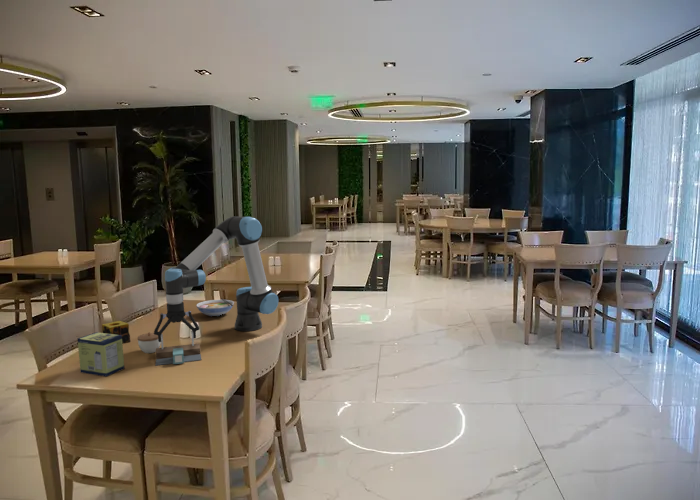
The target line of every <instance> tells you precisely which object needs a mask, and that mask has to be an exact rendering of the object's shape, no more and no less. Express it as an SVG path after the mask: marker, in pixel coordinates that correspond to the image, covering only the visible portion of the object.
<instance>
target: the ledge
mask: <svg viewBox="0 0 700 500" xmlns="http://www.w3.org/2000/svg"><path fill="white" fill-rule="evenodd" d="M176 348H183V354H184V356H189V355H197V354H201V345H200V343H194V346H192V343H191V344H183V345H182V344H181V345H174V346H173V345H171V346H165V347H164V346H163V349H162V347H159V348H156V352H155V360H156V359H163V358H172V357H173V349H176Z"/></svg>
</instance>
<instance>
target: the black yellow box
mask: <svg viewBox="0 0 700 500" xmlns="http://www.w3.org/2000/svg"><path fill="white" fill-rule="evenodd" d="M129 329H130V327H129V323H128V322H124V321H123V320H122V321H121V320H117V321H113V322H112V321H111V322H107V323H104V324H103V323H102V324H101V330H102V333H106V334H115V335H122V345H123V344H127V343H131V334H130V331H129Z"/></svg>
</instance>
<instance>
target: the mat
mask: <svg viewBox="0 0 700 500" xmlns="http://www.w3.org/2000/svg"><path fill="white" fill-rule="evenodd" d="M198 361H202V354H201V353H200V354H197V355H189V356H184V363H189V362H190V363H191V362H198ZM164 365H175V364H174V363H173V357H172V358H163V359H156V358H155V367H156V366H164Z"/></svg>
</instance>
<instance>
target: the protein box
mask: <svg viewBox="0 0 700 500" xmlns="http://www.w3.org/2000/svg"><path fill="white" fill-rule="evenodd" d="M123 348H124V347H123V344H122V335H115V334H106V333H103V332H98V331H96V332H93V333H91V334H87V335H84V336H80V337H79V338H77V349H78V360H79V370H80V371H79V373H81V374H88V375H94V376H100V377H105V378H106V377H109V376H111V375H113V374H115V373H116V374H117V372H118V373H119V371H123V370H125V362H124V361H125V360H124V349H123Z"/></svg>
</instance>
